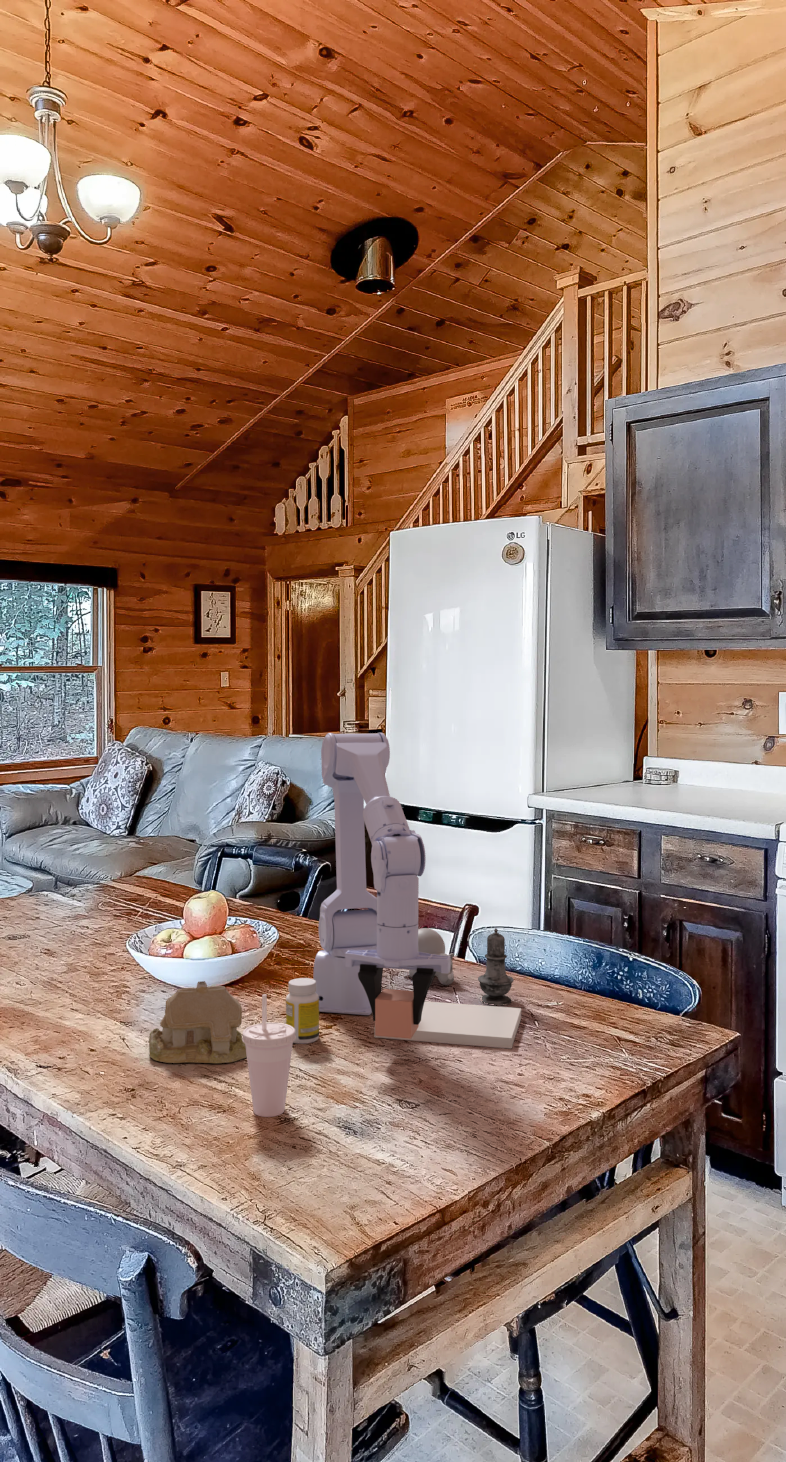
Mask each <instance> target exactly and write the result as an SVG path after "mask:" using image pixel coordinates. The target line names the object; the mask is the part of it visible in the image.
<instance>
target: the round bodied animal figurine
mask: <svg viewBox="0 0 786 1462" xmlns="http://www.w3.org/2000/svg"><path fill="white" fill-rule="evenodd" d="M418 952H423V953H429V954H435V955H442V956H450V957H451V970H450V972H449V973H448V974H445V973H441V972H436V974H435V976H436V977H437V979H438V982H439V983H440V984H441V985H444V986H448V985H451V984H452V983H453V982H454V981H455V975H454V970H453V966H454V965H453V964H454V963H453V958H454V955H455V953H452V952H451V953H448V954H447V953H446V943H445V941H444V939H443V937H442V936H441V934H440V933H439V932H437V931H436V930H434V929H432V928H428V927H422V928H418ZM416 972H417V970H408V974H409V976H410V978H412V976H413V975H414V974H415V973H416ZM435 976H434V977H435Z"/></svg>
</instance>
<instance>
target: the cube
mask: <svg viewBox="0 0 786 1462" xmlns="http://www.w3.org/2000/svg"><path fill="white" fill-rule="evenodd" d="M413 1009H414V993H413V990H407V989H405V990H404V989H394V988H393V989H391V988H383V989H382V990H381V993H380V994H379V995H378V997H377V998H376V999H375V1021H374V1023H375V1024H374V1027H375V1036H385V1037H397V1038H409V1039H411V1038H412V1037H413V1035H414V1033H415V1032H416V1030H417V1028H418V1027H419V1025H415V1024H413Z"/></svg>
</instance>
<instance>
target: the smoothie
mask: <svg viewBox="0 0 786 1462" xmlns="http://www.w3.org/2000/svg"><path fill="white" fill-rule="evenodd" d="M267 997H268V996H267V994H265V993H264V994H262V995H261V1020H262V1021H261V1023H256V1024H252V1025H249V1026H247V1027H245V1029H243V1030H242V1041H243V1042H244V1043H245V1046H246V1055H247V1057H246V1061H247V1068H248V1069H247V1070H248V1077H249V1086H250V1092H251V1093H250V1094H251V1102H252V1109H253V1114H255V1115H256V1116H259V1117H265V1118H269V1117H276V1116H280V1115H282V1114H283V1113H284V1112H285V1108H286V1101H287V1092H288V1085H289V1076H290V1067H291V1060H292V1053H293V1044H294V1043H293V1041H295V1039H296V1036H295V1029H294V1028H293V1027H292V1026H290V1025H288V1024H286V1023H282V1022H268V1021H267V1020H268V1019H267V1018H268V1014H267V1013H268V1011H267V1010H268V1001H267V999H268V998H267Z"/></svg>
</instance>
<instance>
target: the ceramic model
mask: <svg viewBox="0 0 786 1462" xmlns="http://www.w3.org/2000/svg"><path fill="white" fill-rule="evenodd" d="M242 1016H243V1008H242V1005H241V1003H240V1002H239V1000H238V999H237V998H235V997H234V996H233V995H232V994H231V993H230V992H229V991H228V990H227V987H225V986H222V985H211V986H208V984H207V982H206V981H205V980H203V981H198V982H197V984H196V987H185V988H184V987H183V988H178V989H176V991H175V993H174V994H173V995H171V996H169V997H167V999H166V1000H165V1009H164V1016H163V1017H162V1019H161V1021H160V1023H159V1025H160V1027H161V1028H162V1030H160V1028H153V1029H152V1030H151V1031H150V1033H149V1035H148V1036H149V1038H148V1044H149V1045H148V1047H149V1048H148V1052H149V1057H150V1058H151V1059H152V1060H154V1061H157V1062H161V1063H162V1062H163V1063H168V1064H172V1063H173V1064H180V1063H193V1064H194V1063H201V1064H202V1063H204V1064H222V1063H223V1064H225V1063H233V1062H237V1061H240V1060H242V1059H245V1058H246V1059H247V1055H246V1046H245V1043H244V1042H243V1041H242V1038H243V1034H242V1033H241V1032H240V1031H239V1030H238V1029H237V1028H240V1027H241V1025H242V1018H243V1017H242Z"/></svg>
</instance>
